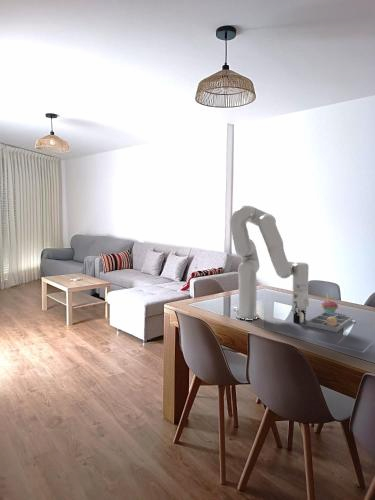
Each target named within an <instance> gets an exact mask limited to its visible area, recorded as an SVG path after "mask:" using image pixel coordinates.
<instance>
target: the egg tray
mask: <svg viewBox="0 0 375 500" xmlns="http://www.w3.org/2000/svg"><path fill="white" fill-rule="evenodd" d="M331 316H332V317H335V318H336V320H337V327H332V326H327V319H328V317H331ZM352 322H353V317H352V316H349V315H348V316H347V315H342V314H338V313H337V314H336V313H334V314H332V313H327V312H324V311H323V312H321V313H320V314H318V315H316V316H315V317H314V316H313V318H310V319H309V320H307V321H306V327H311V328H316V329H319V330H325V331H331V332H334V333H338V332H339V331H341V330H342V329H343V328H345V327H346V326H347V325H350V323H352Z"/></svg>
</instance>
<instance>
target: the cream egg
mask: <svg viewBox="0 0 375 500" xmlns="http://www.w3.org/2000/svg"><path fill="white" fill-rule="evenodd" d="M297 313H298V311H297ZM299 316H300V323H299V324H303V323H305V320H304V314H303V313H302V312H300V313H299Z"/></svg>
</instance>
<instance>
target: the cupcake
mask: <svg viewBox="0 0 375 500" xmlns="http://www.w3.org/2000/svg"><path fill="white" fill-rule="evenodd" d="M321 308H322V309H323V312H327V313H332V314H336V313H335V312H336V310H338V309H339V305H338V303H336V302H335V301H333V300H332V301H331V300H329V294H328V293H326V301H323V302H322V303H321Z"/></svg>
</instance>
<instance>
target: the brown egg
mask: <svg viewBox="0 0 375 500" xmlns="http://www.w3.org/2000/svg"><path fill="white" fill-rule="evenodd" d="M327 326H332V327H337V320H336V318H335V317H332V316H331V317H328V319H327Z"/></svg>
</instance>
